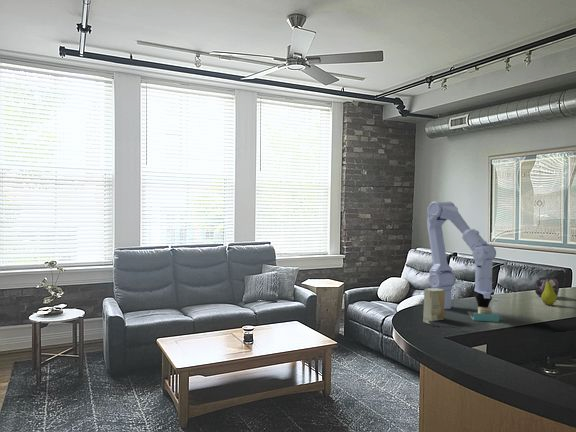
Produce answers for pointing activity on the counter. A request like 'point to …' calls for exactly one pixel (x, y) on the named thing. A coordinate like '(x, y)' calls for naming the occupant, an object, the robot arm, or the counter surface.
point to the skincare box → (433, 305)
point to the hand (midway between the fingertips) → (482, 314)
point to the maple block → (484, 310)
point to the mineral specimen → (542, 282)
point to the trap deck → (484, 317)
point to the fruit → (548, 294)
